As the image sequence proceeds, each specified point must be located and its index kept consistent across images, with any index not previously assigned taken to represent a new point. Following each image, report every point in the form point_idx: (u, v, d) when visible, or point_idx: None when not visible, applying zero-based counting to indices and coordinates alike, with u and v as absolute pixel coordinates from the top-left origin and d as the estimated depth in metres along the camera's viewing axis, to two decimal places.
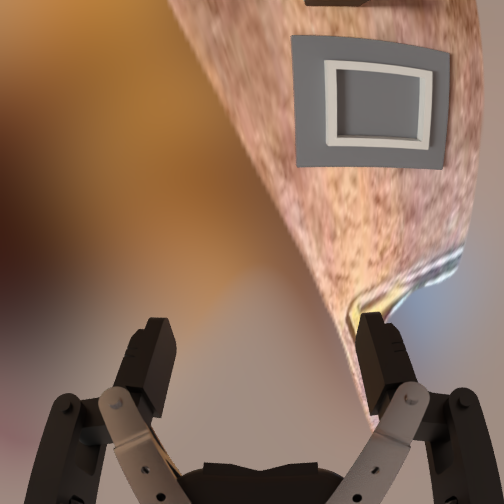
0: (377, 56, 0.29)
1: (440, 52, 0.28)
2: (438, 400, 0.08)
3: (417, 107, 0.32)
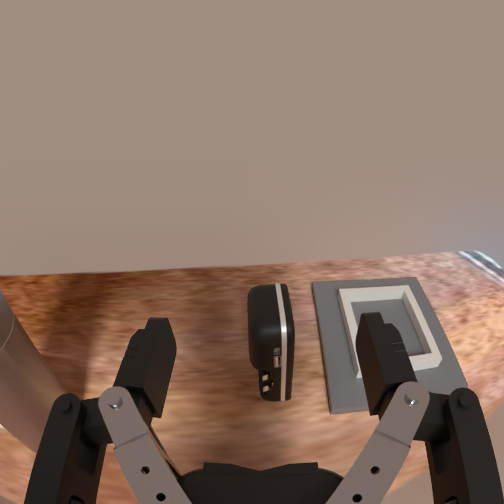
0: (338, 335, 0.36)
1: (315, 288, 0.43)
2: (438, 400, 0.08)
3: (374, 301, 0.40)
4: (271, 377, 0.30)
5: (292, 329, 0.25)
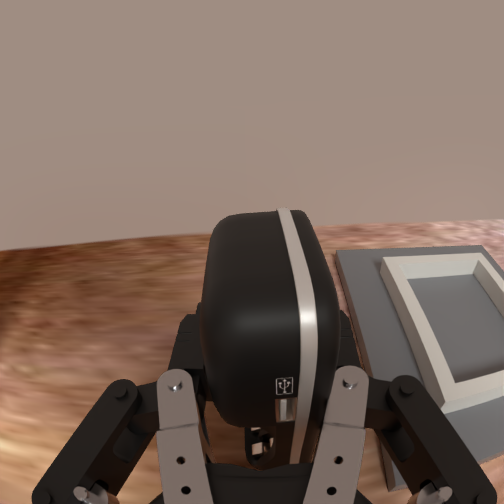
0: (392, 334, 0.19)
1: (341, 259, 0.26)
2: (381, 386, 0.09)
3: (437, 278, 0.23)
4: None
5: (335, 318, 0.07)
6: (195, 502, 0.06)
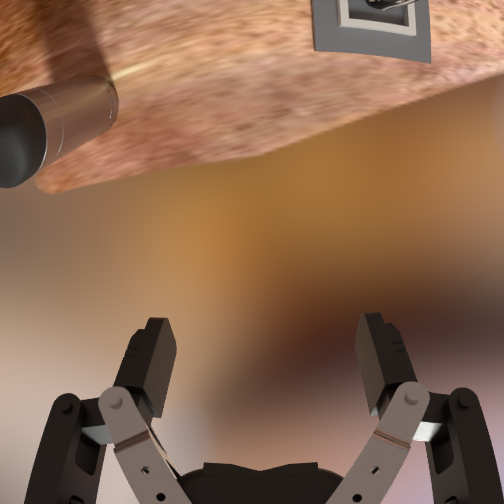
0: None
1: None
2: (438, 400, 0.08)
3: None
4: None
5: None
6: None
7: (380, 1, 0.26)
